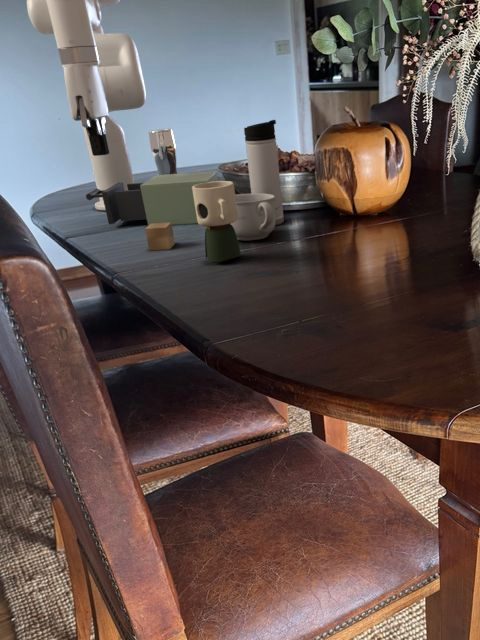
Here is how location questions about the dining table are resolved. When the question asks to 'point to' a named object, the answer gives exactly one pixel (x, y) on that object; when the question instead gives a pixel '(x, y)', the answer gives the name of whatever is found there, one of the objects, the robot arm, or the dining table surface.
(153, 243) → the block
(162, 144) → the beer glass
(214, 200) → the character mug
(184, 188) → the cabinet
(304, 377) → the dining table surface
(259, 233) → the teacup
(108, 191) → the drawer
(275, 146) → the travel mug
